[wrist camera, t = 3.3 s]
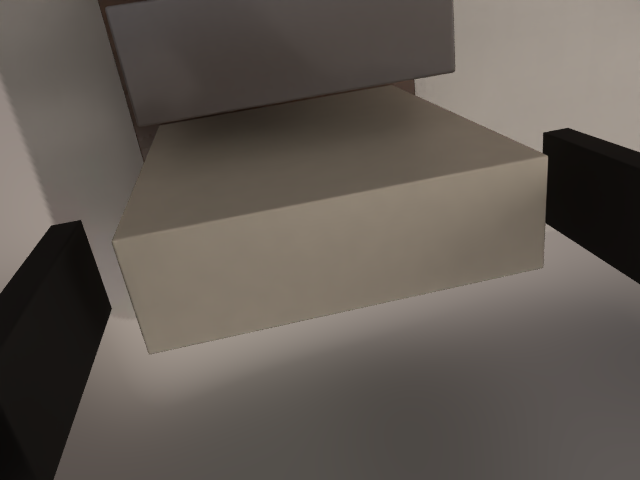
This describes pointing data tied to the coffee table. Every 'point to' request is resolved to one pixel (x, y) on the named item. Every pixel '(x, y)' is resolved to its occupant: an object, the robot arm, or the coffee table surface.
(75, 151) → the coffee table surface
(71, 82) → the coffee table surface
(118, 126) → the coffee table surface
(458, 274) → the beige rectangular block
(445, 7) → the brown rack
